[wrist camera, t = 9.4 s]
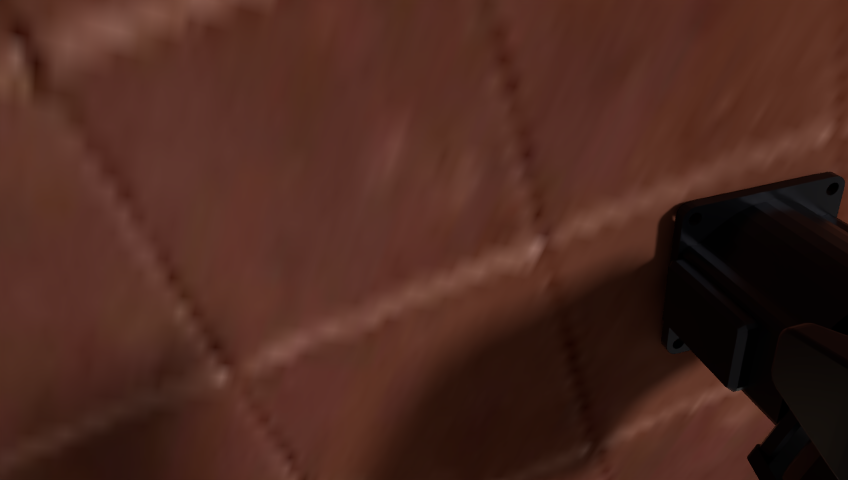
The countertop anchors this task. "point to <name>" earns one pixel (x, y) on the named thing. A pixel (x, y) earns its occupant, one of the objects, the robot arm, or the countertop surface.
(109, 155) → the countertop surface
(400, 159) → the countertop surface
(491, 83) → the countertop surface
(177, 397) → the countertop surface
